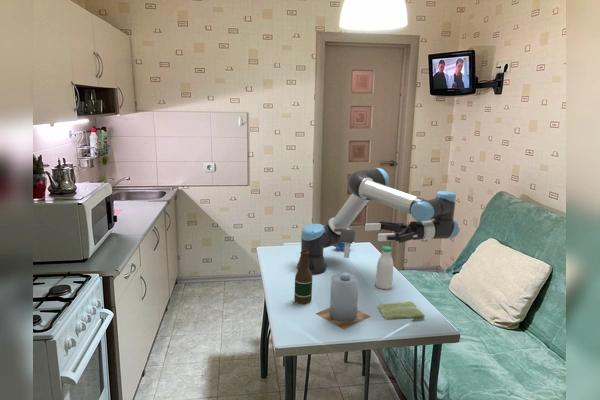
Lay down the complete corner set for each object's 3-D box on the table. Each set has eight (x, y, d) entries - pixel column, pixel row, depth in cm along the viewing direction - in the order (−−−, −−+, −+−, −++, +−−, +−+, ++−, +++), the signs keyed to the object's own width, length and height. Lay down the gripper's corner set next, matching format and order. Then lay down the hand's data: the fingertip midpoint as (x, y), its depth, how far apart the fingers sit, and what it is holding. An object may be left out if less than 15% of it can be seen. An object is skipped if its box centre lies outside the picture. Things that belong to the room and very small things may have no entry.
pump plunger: (331, 257, 167) (333, 228, 164) (345, 253, 172) (346, 224, 169) (343, 262, 162) (344, 232, 160) (356, 257, 168) (358, 228, 165)
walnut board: (315, 316, 174) (315, 313, 174) (341, 304, 185) (341, 302, 185) (344, 332, 163) (344, 329, 163) (370, 319, 174) (370, 316, 173)
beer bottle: (305, 308, 180) (307, 255, 175) (290, 303, 184) (292, 251, 179) (314, 301, 187) (317, 250, 181) (300, 297, 191) (301, 246, 185)
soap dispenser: (324, 313, 174) (326, 273, 170) (342, 305, 181) (344, 266, 177) (343, 324, 166) (346, 282, 162) (362, 316, 173) (364, 275, 169)
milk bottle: (391, 290, 200) (395, 250, 196) (375, 288, 202) (378, 249, 197) (391, 283, 208) (395, 245, 203) (375, 282, 209) (378, 243, 204)
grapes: (351, 249, 255) (352, 229, 252) (352, 252, 248) (354, 233, 245) (332, 248, 255) (333, 229, 252) (332, 252, 248) (333, 232, 245)
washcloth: (374, 308, 183) (374, 302, 182) (412, 306, 187) (412, 299, 186) (385, 324, 171) (386, 317, 170) (426, 321, 174) (426, 314, 173)
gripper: (435, 249, 161) (383, 252, 157) (406, 229, 185) (360, 231, 180) (437, 230, 159) (384, 232, 155) (407, 213, 183) (361, 214, 179)
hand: (371, 232), depth 168 cm, fingers open, 13 cm apart
